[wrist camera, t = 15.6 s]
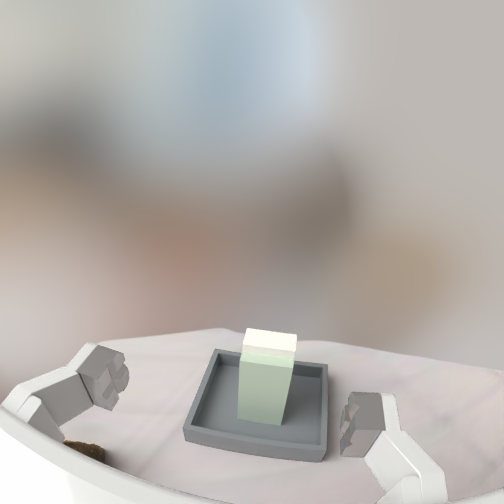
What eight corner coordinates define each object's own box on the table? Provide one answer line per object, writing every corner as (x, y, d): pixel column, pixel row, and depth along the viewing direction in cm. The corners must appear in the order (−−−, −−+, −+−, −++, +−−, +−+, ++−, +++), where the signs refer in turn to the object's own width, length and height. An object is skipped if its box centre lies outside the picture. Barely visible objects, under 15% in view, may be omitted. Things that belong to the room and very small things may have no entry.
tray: (323, 378, 47) (327, 364, 46) (320, 462, 33) (326, 450, 32) (215, 363, 50) (214, 348, 48) (185, 440, 36) (182, 427, 34)
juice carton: (284, 393, 43) (297, 327, 38) (280, 425, 38) (294, 360, 32) (245, 388, 44) (249, 320, 38) (237, 419, 39) (239, 352, 33)
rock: (21, 494, 20) (86, 509, 21) (-2, 433, 21) (61, 444, 22) (57, 465, 30) (115, 471, 31) (41, 413, 32) (99, 416, 33)
